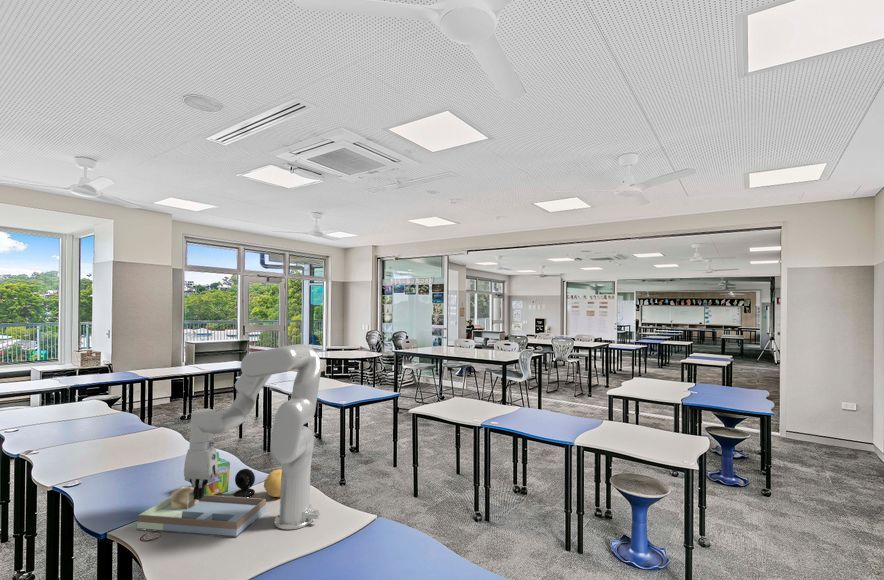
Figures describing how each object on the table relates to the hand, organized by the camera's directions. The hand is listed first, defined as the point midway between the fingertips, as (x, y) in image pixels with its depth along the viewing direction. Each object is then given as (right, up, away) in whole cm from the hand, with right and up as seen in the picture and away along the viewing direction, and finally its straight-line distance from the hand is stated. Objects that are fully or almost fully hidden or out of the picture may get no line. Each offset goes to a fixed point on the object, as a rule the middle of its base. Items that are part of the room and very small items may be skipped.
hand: (198, 498), depth 151 cm
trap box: (+5, -5, -5) cm, 9 cm away
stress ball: (+22, -7, +15) cm, 27 cm away
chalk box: (-5, -6, +18) cm, 19 cm away
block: (-5, -3, 0) cm, 6 cm away
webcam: (+9, -7, +15) cm, 19 cm away
